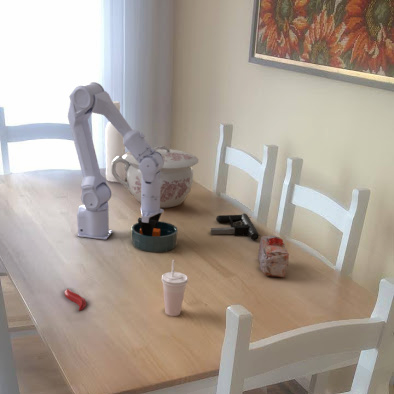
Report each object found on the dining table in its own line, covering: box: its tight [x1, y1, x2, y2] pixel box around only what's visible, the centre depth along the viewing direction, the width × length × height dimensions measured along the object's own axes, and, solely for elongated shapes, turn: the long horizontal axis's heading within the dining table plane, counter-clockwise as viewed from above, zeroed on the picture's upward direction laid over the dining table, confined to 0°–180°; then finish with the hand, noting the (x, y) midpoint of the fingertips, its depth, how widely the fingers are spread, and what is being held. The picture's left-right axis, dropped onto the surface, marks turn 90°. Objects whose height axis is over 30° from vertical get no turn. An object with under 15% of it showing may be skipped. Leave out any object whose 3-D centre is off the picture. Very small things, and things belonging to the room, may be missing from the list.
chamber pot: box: [111, 145, 199, 209], centre depth 210 cm, size 28×28×21 cm
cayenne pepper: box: [64, 288, 87, 312], centre depth 144 cm, size 12×5×2 cm, turn 18°
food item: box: [257, 234, 290, 278], centre depth 167 cm, size 14×8×10 cm, turn 5°
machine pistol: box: [210, 212, 260, 241], centre depth 194 cm, size 3×20×16 cm
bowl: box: [130, 220, 179, 253], centre depth 179 cm, size 14×14×5 cm
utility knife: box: [140, 228, 160, 236], centre depth 179 cm, size 9×3×4 cm, turn 82°
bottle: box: [104, 100, 126, 183], centre depth 229 cm, size 8×8×30 cm
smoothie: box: [161, 259, 189, 317], centre depth 139 cm, size 6×6×14 cm
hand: (149, 237), depth 179 cm, fingers open, 5 cm apart
